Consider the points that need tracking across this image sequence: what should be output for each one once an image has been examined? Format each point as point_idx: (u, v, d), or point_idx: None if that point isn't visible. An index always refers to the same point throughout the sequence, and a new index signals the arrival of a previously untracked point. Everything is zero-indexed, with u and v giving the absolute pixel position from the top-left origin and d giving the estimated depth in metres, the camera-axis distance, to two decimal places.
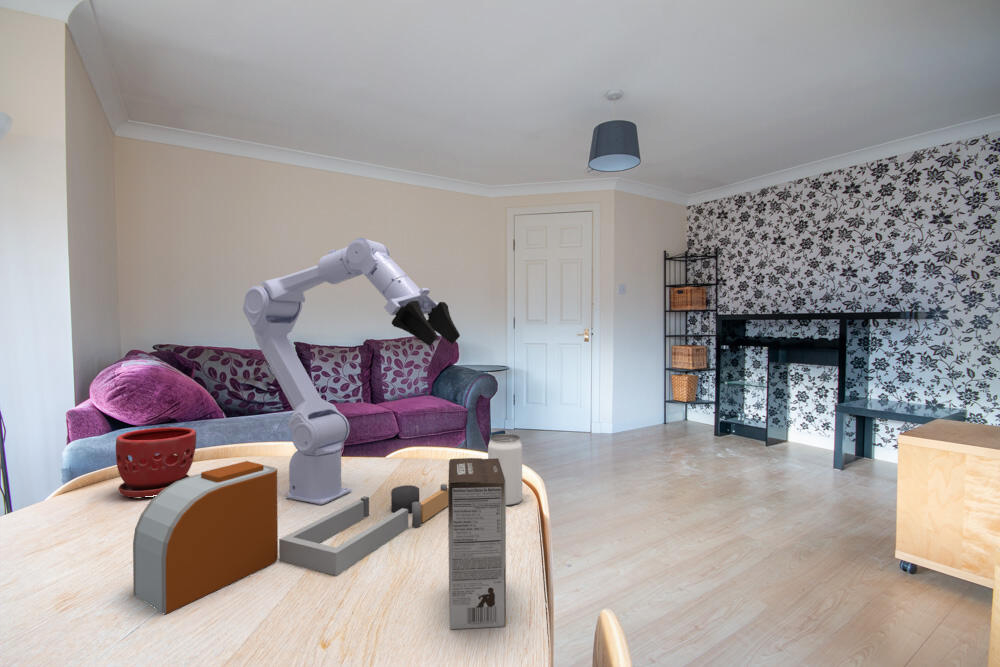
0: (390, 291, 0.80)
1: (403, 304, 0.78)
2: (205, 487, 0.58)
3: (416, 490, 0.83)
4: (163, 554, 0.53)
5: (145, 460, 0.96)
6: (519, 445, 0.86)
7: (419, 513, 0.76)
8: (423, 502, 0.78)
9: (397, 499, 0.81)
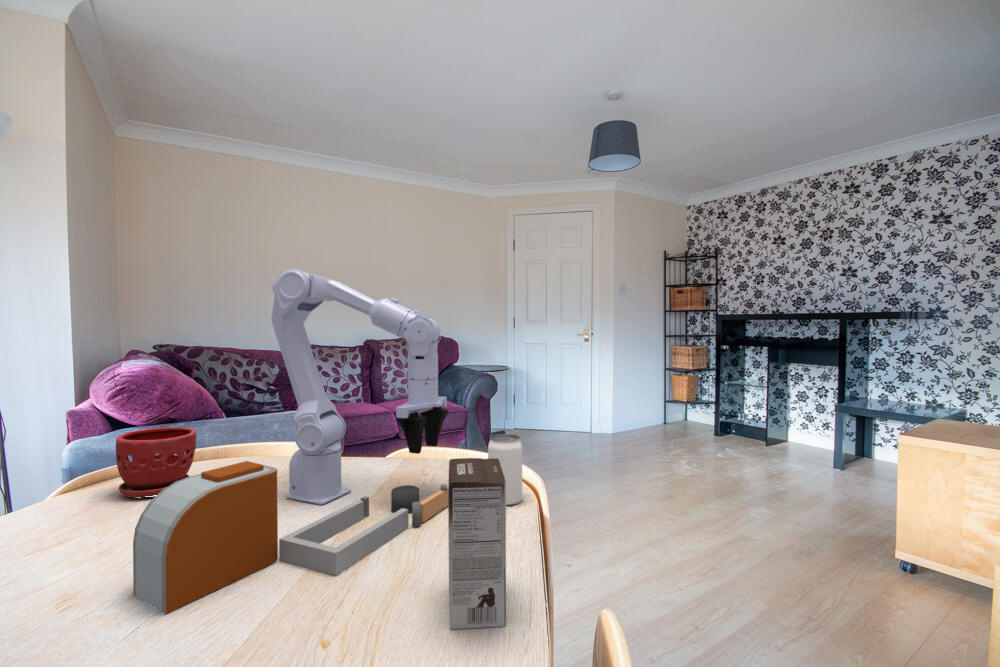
0: (414, 385, 0.86)
1: None
2: (205, 487, 0.58)
3: (416, 490, 0.83)
4: (163, 554, 0.53)
5: (145, 460, 0.96)
6: (519, 445, 0.86)
7: (419, 513, 0.76)
8: (423, 502, 0.78)
9: (398, 499, 0.81)
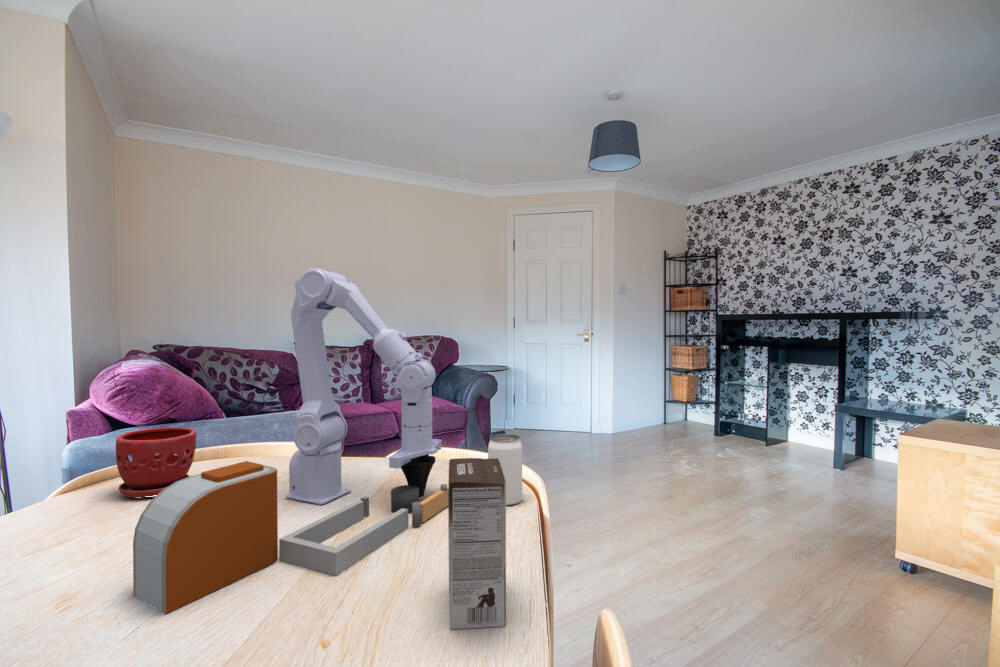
0: (407, 432, 0.84)
1: None
2: (205, 487, 0.58)
3: (416, 489, 0.83)
4: (163, 554, 0.53)
5: (145, 460, 0.96)
6: (519, 445, 0.86)
7: (419, 513, 0.76)
8: (423, 502, 0.78)
9: (398, 499, 0.81)
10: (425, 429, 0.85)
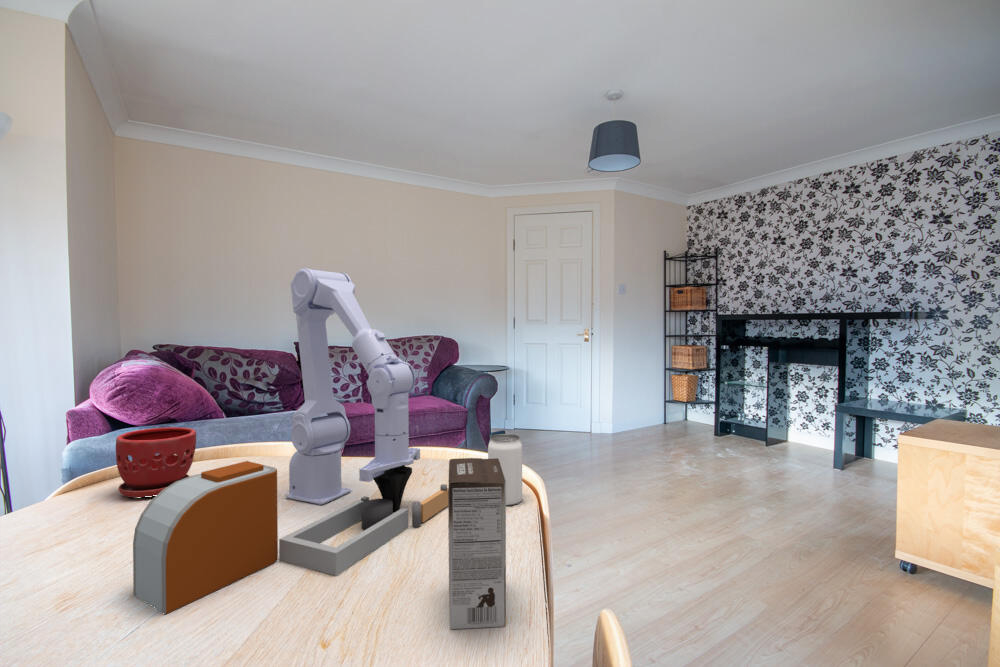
0: (380, 441, 0.77)
1: None
2: (205, 487, 0.58)
3: (389, 504, 0.76)
4: (163, 554, 0.53)
5: (145, 460, 0.96)
6: (519, 445, 0.86)
7: (419, 513, 0.76)
8: (423, 502, 0.78)
9: (368, 515, 0.74)
10: (400, 438, 0.78)
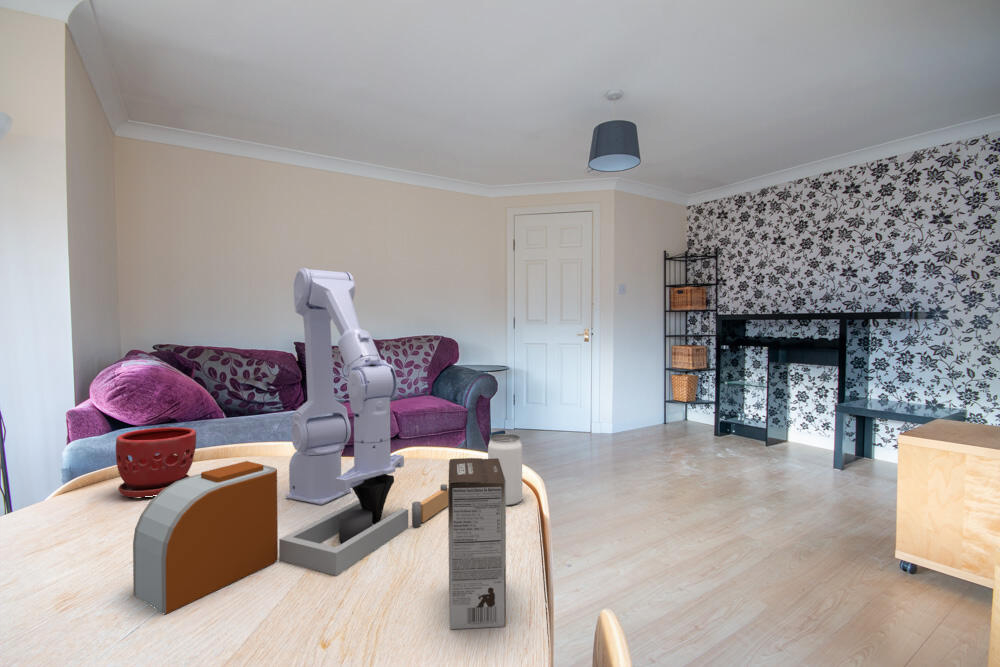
0: (359, 448, 0.73)
1: None
2: (205, 487, 0.58)
3: (368, 516, 0.71)
4: (163, 554, 0.53)
5: (145, 460, 0.96)
6: (519, 445, 0.86)
7: (419, 513, 0.76)
8: (423, 502, 0.78)
9: (344, 527, 0.69)
10: (380, 445, 0.73)
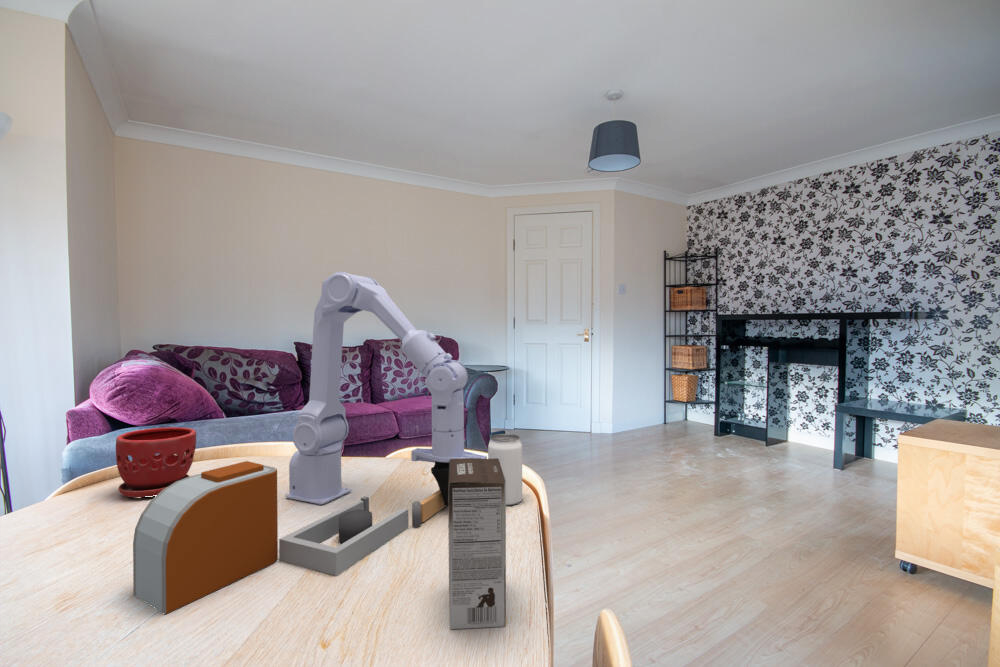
0: (461, 435, 0.81)
1: None
2: (205, 487, 0.58)
3: (368, 516, 0.71)
4: (163, 554, 0.53)
5: (145, 460, 0.96)
6: (519, 445, 0.86)
7: (419, 513, 0.76)
8: (423, 502, 0.78)
9: (344, 528, 0.69)
10: None
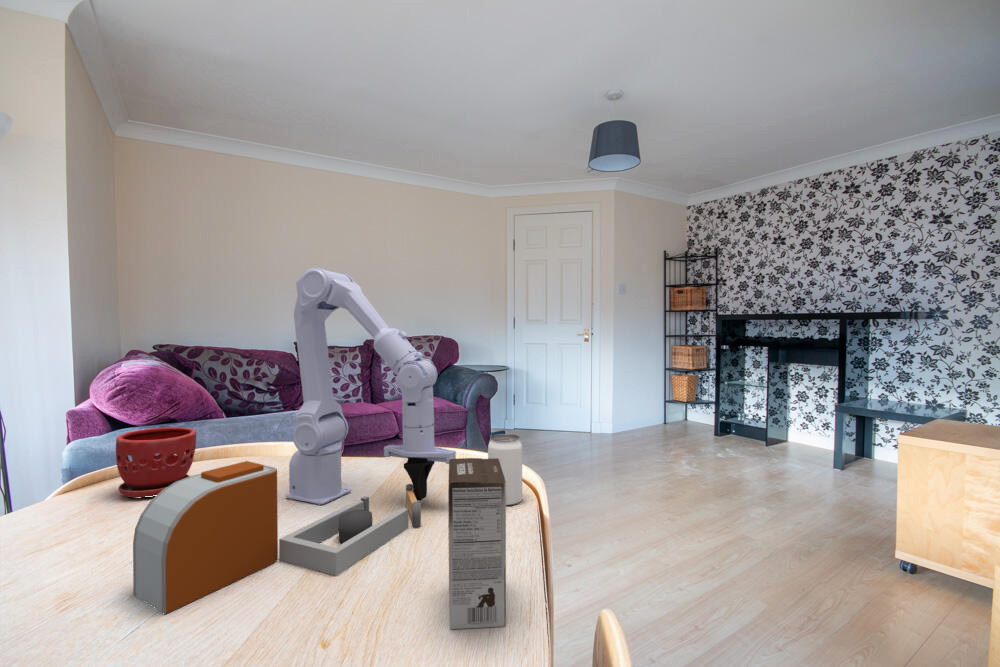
0: (431, 431, 0.84)
1: None
2: (205, 487, 0.58)
3: (368, 516, 0.71)
4: (163, 554, 0.53)
5: (145, 460, 0.96)
6: (519, 445, 0.86)
7: (420, 512, 0.76)
8: (414, 502, 0.78)
9: (344, 528, 0.69)
10: None
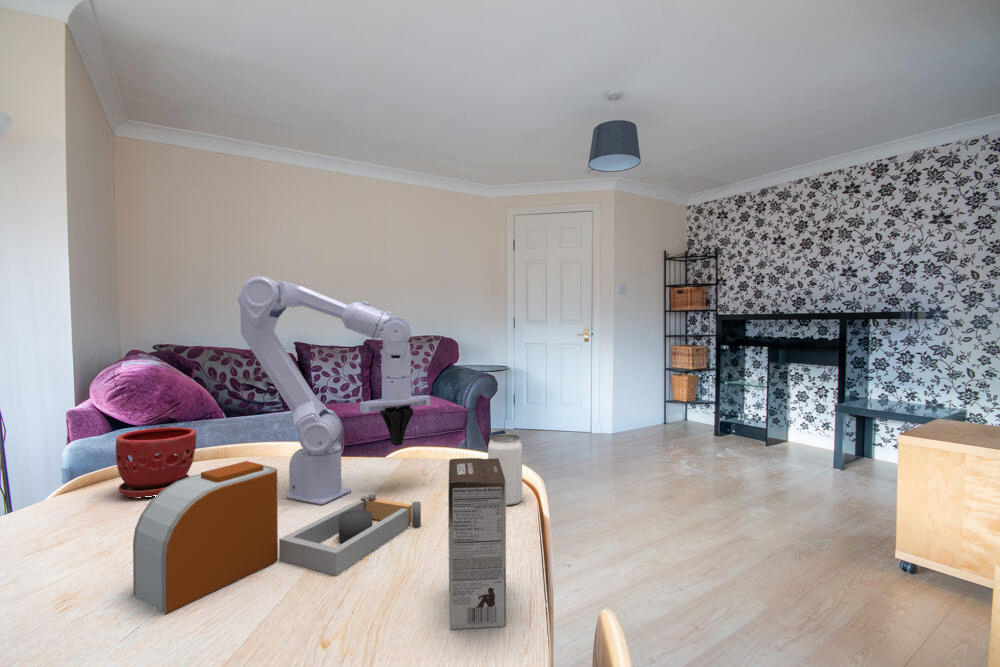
0: None
1: None
2: (205, 487, 0.58)
3: (368, 516, 0.71)
4: (163, 554, 0.53)
5: (145, 460, 0.96)
6: (519, 445, 0.86)
7: None
8: (405, 505, 0.77)
9: (344, 528, 0.69)
10: None
